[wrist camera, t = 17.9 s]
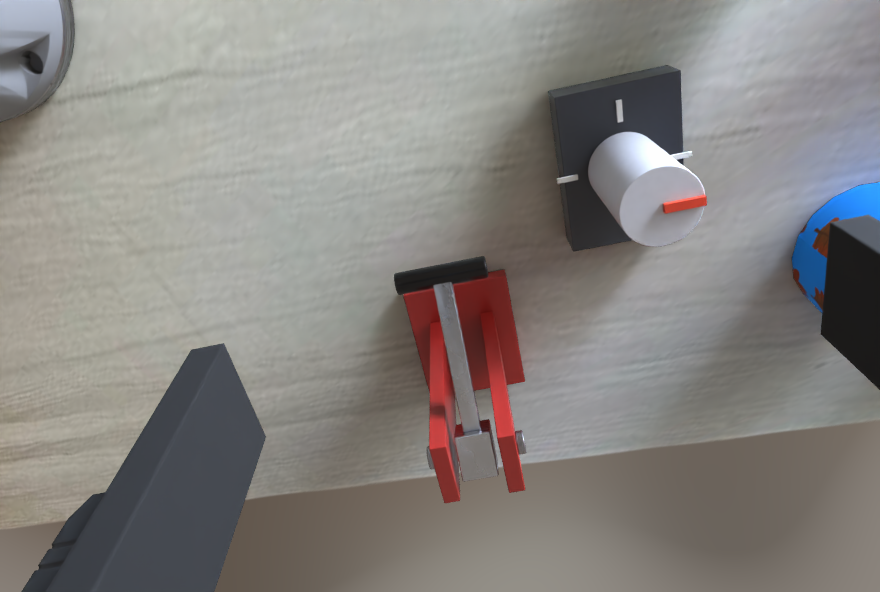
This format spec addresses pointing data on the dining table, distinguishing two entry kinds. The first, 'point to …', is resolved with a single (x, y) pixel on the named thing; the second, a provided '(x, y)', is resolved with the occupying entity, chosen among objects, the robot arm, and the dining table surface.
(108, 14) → the dining table surface
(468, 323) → the red lever stand
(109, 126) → the dining table surface
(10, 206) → the dining table surface
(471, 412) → the lever
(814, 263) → the thermos
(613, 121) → the dial panel
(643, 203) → the knob
